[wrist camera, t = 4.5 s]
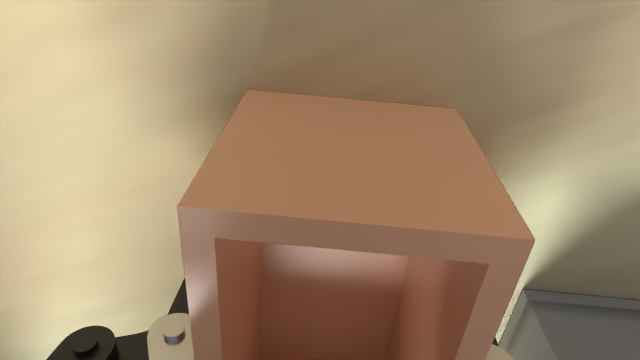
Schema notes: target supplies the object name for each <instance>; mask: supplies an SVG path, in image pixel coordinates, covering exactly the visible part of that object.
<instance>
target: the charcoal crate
mask: <svg viewBox="0 0 640 360" xmlns="http://www.w3.org/2000/svg"><path fill="white" fill-rule="evenodd" d="M498 346H499V347H500V348H501V349H503V350H504V351H505V352H507V353H508V354H509V355H510V356H511V357H512V359H513V360H640V300H631V299H620V298H610V297H599V296H589V295H578V294H568V293H557V292H547V291H536V290H526V289H523V290H522V292H521V294H520V297H519V299H518V301H517V304H516V306H515V308H514V311H513V313H512V315H511V318H510V320H509V322H508V325H507V327H506V329H505V331H504V334H503V336H502V338H501V341H500V343H499V345H498Z"/></svg>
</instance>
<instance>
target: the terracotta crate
mask: <svg viewBox="0 0 640 360" xmlns="http://www.w3.org/2000/svg"><path fill="white" fill-rule="evenodd" d="M177 210H178V219H179V228H180V237H181V246H182V255H183V263H184V272H185V281H186V290H187V299H188V308H189V317H190V326H191V335H192V344H193V353H194V360H485V359H486V357H487V355H488V352H489V350H490V347H491V345H492V343H493V340H494V338H495V335H496V333H497V331H498V328H499V326H500V324H501V321H502V319H503V316H504V314H505V312H506V309H507V307H508V304H509V302H510V300H511V297H512V295H513V292H514V290H515V288H516V285H517V283H518V280H519V278H520V276H521V273H522V271H523V269H524V266H525V264H526V261H527V259H528V257H529V254H530V252H531V249H532V247H533V245H534V242H535V238H534V236H533V235H532V233H531V231H530V230H529V228H528V226H527V225H526V223H525V221H524V220H523V218H522V216H521V215H520V213H519V211H518V210H517V208H516V206H515V205H514V203H513V201H512V200H511V198H510V196H509V195H508V193H507V191H506V190H505V188H504V186H503V185H502V183H501V181H500V180H499V178H498V176H497V175H496V173H495V171H494V170H493V168H492V166H491V165H490V163H489V161H488V160H487V158H486V156H485V155H484V153H483V151H482V150H481V148H480V146H479V145H478V143H477V141H476V140H475V138H474V136H473V135H472V133H471V131H470V130H469V128H468V126H467V125H466V123H465V121H464V120H463V118H462V116H461V115H460V113H459V111H458V110H457V108H446V107H435V106H424V105H413V104H402V103H391V102H380V101H369V100H358V99H347V98H336V97H325V96H314V95H303V94H293V93H282V92H271V91H260V90H249V89H248V90H247V91H246V93H245V95H244V96H243V98H242V100H241V101H240V103H239V105H238V106H237V108H236V110H235V111H234V113H233V115H232V116H231V118H230V120H229V121H228V123H227V125H226V126H225V128H224V130H223V131H222V133H221V134H220V136H219V138H218V139H217V141H216V143H215V144H214V146H213V148H212V149H211V151H210V153H209V154H208V156H207V158H206V159H205V161H204V163H203V164H202V166H201V168H200V169H199V171H198V173H197V174H196V176H195V177H194V179H193V181H192V182H191V184H190V186H189V187H188V189H187V191H186V192H185V194H184V196H183V197H182V199H181V201H180V202H179V204H178V206H177Z"/></svg>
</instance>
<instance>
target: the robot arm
mask: <svg viewBox="0 0 640 360" xmlns="http://www.w3.org/2000/svg"><path fill="white" fill-rule="evenodd" d="M46 360H194V353H193V344H192V335H191V326H190V317H189V308H188V299H187V290H186V281H185V279H184V280H183V282H182V285H181V287H180V289H179V291H178V293H177V295H176V298H175V300H174V302H173V304H172V306H171V308H170V311H169V313H168V314H167V315H166V316H164V317H162V318H160V319H159V320H157V321H156V322H155V323H154V324H153V325H152V326H151V328H150V329H149V330H148V331H145V332H142V333H138V334H133V335H127V336H121V337H116V338H115V336H114V334H113V332H112V331H111V330H110V329H108V328H106V327H103V326H89V327H85V328H82V329H79V330H77V331H75V332H73V333H72V334H70V335H69V336H67V337H66V338H65V339H64V340H63V341H62V342H61V343H60V345H59V346H58V347H57V348H56V349H55V350H54V351H53V353H52V354H51V355H50V356H49V357H48V358H47V359H46ZM485 360H513V359H512V357H511V356H510V355H509V354H508V353H507V352H505V351H504V350H503V349H501V348H500V347H499V346H498V344H497V341H496V338H494V340H493V343H492V345H491V347H490V350H489V352H488V355H487V357H486V359H485Z"/></svg>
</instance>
